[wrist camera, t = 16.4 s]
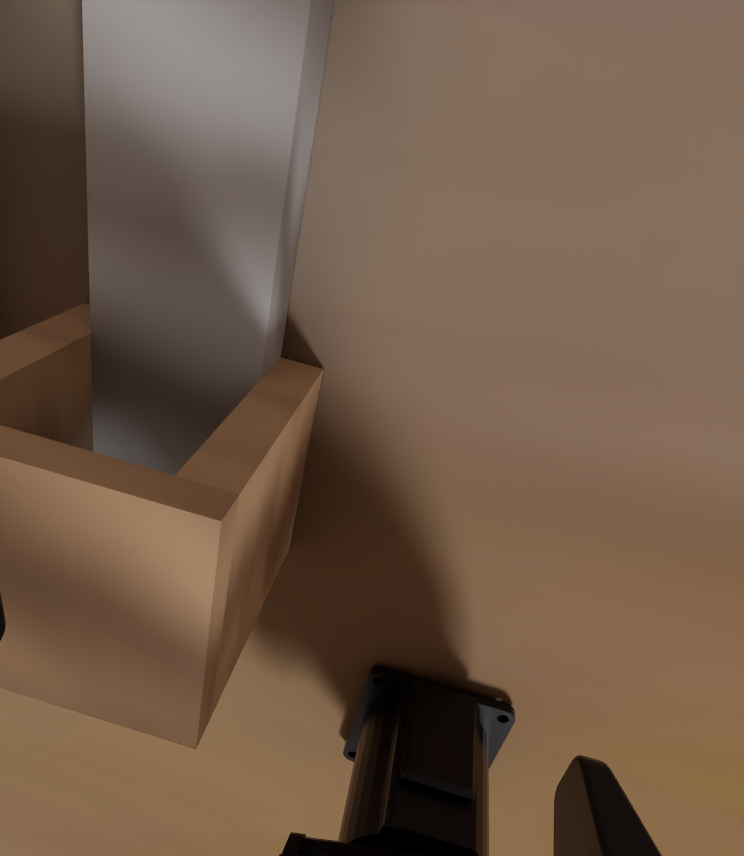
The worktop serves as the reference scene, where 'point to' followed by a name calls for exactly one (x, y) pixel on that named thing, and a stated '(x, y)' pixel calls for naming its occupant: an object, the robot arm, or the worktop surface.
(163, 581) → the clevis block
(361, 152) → the worktop surface
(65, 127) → the worktop surface
